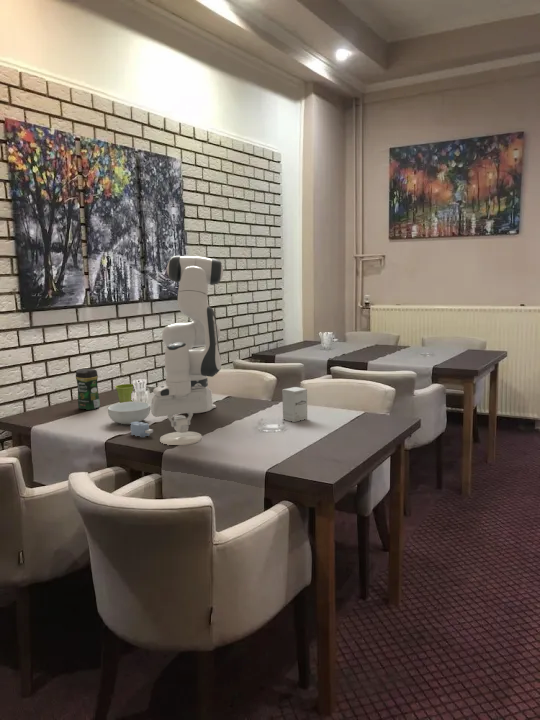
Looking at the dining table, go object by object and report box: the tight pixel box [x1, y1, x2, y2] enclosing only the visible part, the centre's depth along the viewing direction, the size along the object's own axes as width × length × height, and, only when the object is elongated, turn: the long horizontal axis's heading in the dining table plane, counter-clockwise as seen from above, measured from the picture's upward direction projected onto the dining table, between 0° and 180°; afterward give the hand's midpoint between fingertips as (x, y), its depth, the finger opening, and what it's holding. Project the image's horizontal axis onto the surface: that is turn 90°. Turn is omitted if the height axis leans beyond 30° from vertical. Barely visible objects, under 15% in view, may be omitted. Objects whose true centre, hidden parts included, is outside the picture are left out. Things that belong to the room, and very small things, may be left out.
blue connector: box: [130, 421, 154, 438], centre depth 218 cm, size 10×4×4 cm, turn 54°
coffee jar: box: [75, 367, 101, 411], centre depth 265 cm, size 10×8×19 cm
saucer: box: [159, 430, 202, 446], centre depth 211 cm, size 15×15×1 cm
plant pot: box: [114, 383, 133, 403], centre depth 272 cm, size 9×9×9 cm
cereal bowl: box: [107, 400, 151, 425], centre depth 238 cm, size 17×17×7 cm
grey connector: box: [173, 414, 189, 433], centre depth 209 cm, size 10×4×4 cm, turn 24°
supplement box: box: [281, 386, 308, 423], centre depth 234 cm, size 7×7×13 cm
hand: (180, 425), depth 210 cm, fingers closed on grey connector, 4 cm apart
